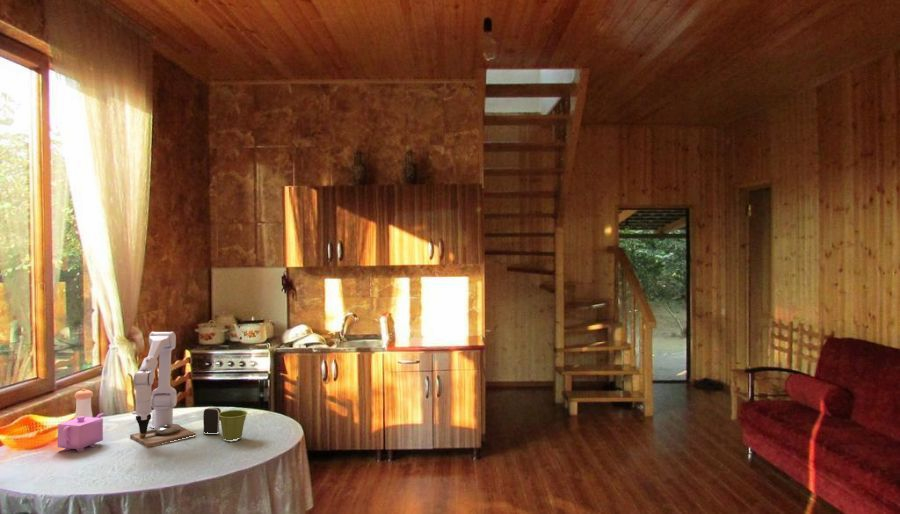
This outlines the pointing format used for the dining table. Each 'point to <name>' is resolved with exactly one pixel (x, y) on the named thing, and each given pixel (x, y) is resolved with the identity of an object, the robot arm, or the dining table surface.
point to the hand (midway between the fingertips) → (143, 433)
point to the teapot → (80, 432)
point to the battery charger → (211, 420)
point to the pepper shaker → (83, 403)
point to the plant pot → (232, 423)
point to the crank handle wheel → (163, 430)
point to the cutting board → (161, 437)
